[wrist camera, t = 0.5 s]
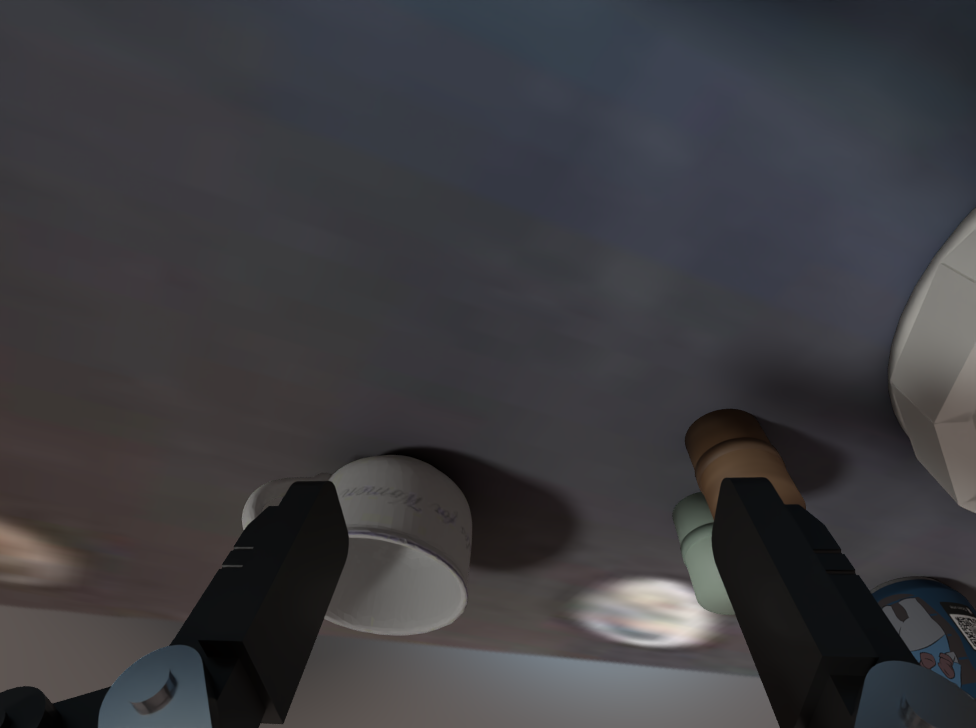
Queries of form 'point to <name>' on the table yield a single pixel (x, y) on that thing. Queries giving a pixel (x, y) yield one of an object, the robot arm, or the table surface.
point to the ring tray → (941, 366)
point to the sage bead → (700, 553)
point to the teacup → (394, 544)
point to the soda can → (933, 626)
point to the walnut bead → (735, 455)
